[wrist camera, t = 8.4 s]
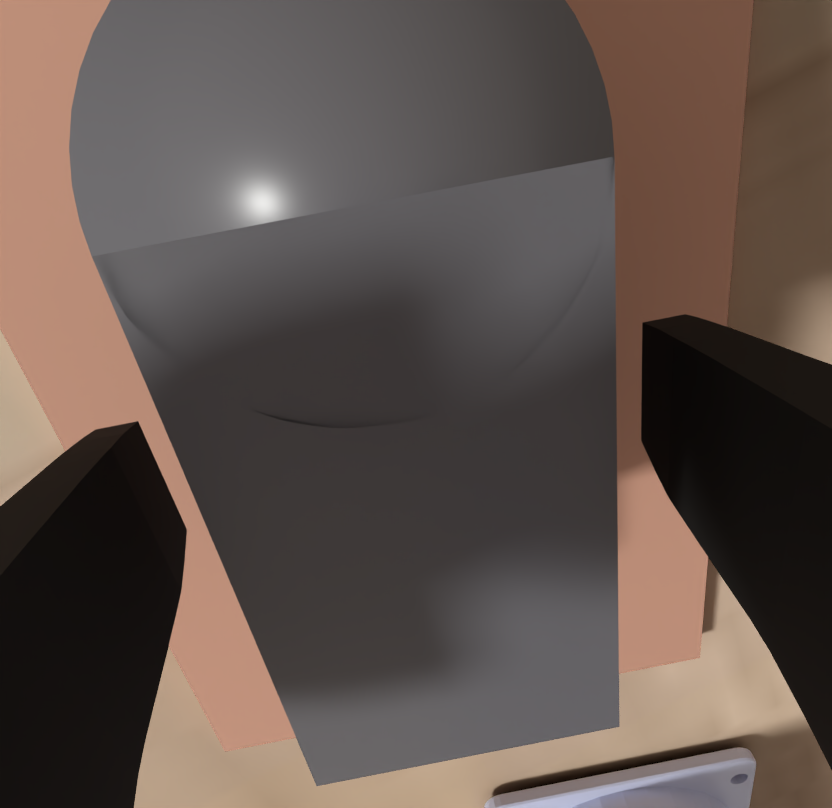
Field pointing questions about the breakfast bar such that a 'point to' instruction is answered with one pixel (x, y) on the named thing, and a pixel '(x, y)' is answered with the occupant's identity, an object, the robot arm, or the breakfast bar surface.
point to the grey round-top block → (378, 347)
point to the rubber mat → (635, 303)
